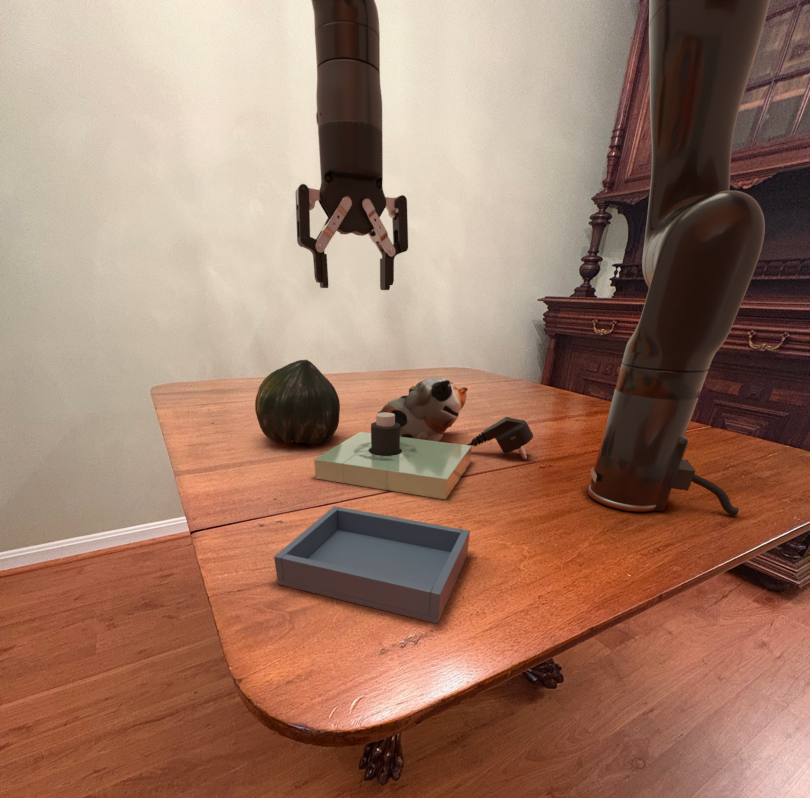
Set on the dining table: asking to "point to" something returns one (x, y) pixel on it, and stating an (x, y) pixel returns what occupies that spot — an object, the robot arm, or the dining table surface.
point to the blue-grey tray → (376, 562)
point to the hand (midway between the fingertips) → (355, 289)
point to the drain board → (396, 466)
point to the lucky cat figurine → (427, 409)
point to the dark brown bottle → (385, 435)
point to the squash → (297, 405)
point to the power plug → (507, 435)
